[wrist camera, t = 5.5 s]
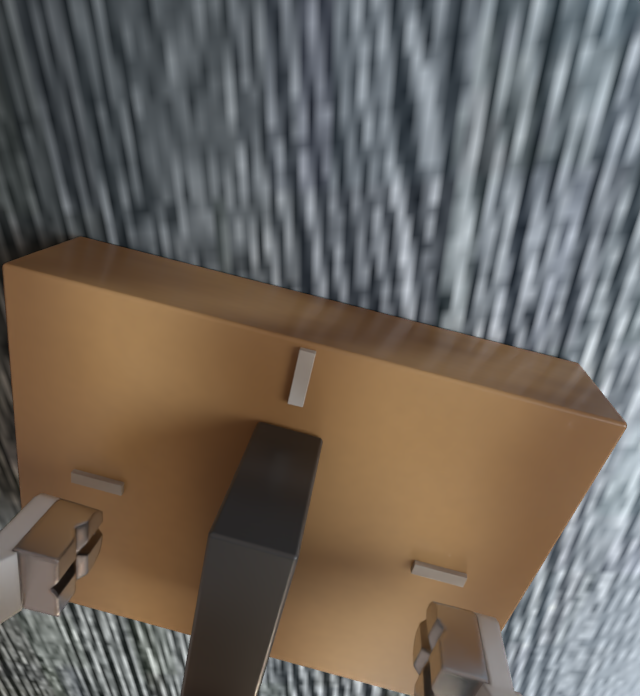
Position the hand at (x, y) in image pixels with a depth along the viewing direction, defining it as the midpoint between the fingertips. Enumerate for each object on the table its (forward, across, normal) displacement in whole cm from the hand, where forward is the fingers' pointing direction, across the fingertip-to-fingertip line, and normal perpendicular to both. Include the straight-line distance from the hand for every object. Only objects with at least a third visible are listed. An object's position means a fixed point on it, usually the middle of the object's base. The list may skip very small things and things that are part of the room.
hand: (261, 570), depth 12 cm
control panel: (+4, 0, 0) cm, 4 cm away
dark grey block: (+1, 0, 0) cm, 1 cm away
